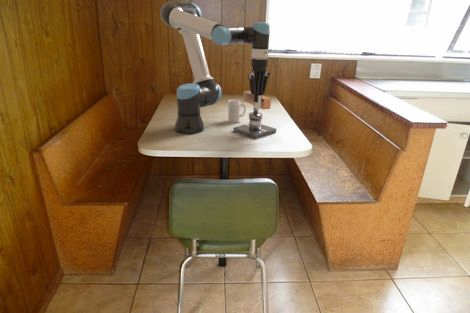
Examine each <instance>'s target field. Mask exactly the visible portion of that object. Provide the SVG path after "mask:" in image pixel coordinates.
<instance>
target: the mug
mask: <svg viewBox="0 0 470 313" xmlns="http://www.w3.org/2000/svg"><path fill="white" fill-rule="evenodd" d="M227 101H228V102H227V103H228V104H227V105H228V106H227V107H228V122H229V123H232V124H233V123H239V122H240V118H241V117H242V118H243V117H244V116H245V113H246V109H247V108H246V105H245V102H242V103H241V100H240V99H235V98H234V99H233V98H232V99H229V100H227ZM241 106H242V107H243V112H242V113H240V110H241Z"/></svg>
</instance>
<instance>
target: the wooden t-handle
mask: <svg viewBox="0 0 470 313" xmlns="http://www.w3.org/2000/svg"><path fill="white" fill-rule="evenodd" d="M242 102H244V103H248V104H250V105H253V106H254V105H255V102H254V95H253V94H251V90H243V94H242ZM271 103H272V99H271V97H268V96H265V95H262V100H261V108H260V110H270V109H271ZM248 119H249V121H250V120H261V121H262V120H263V113H261V112H259V109H255V108H254V107H253V112H249V113H248Z"/></svg>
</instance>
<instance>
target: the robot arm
mask: <svg viewBox="0 0 470 313" xmlns="http://www.w3.org/2000/svg"><path fill="white" fill-rule="evenodd" d="M159 15H160V19H161V21H162V22H163V23H164V24H165V25H166V26H168V27H171V28H173V29H177V30H178V33H179V34H181V35H182V38H183V40H184V41H183V42H184V46H185V49H186V53H187V55H188V61H189V65H190V67H191V71H192V75H193V79H194V81H193V82H192V83H191V82H190V83H183V84H181V85H179V86H178V87H177V88H176V104H177V117H176V121H175V124H174V130H175V132H177V133H180V134H184V135H185V134H186V135H192V134H199V133H201V132H203V131H204V130H205V126H204V122H203V119H202V116H201V109H202V108H204V107H208V106H212V105H213V106H214V105H215V104H218V103H219V102H220V100H221V98H222V87H221V86H220V84H218V83H217V82H215V78H214V77H212V76H211V74H210V70H209V66H208V63H207V59H206V56H205V55H206V54H205V51H204V47H203V43H202V41H201V37H204V38H206V39H209V40H211V41H212V42H213V43H214V44H215V45H217V46H227V45H228V46H229V45H239V44H243V45H244V44H247V45H251V68H252V70H251V73H250V74H248V75H247V78H248V81H249V87H250V91H251V94H253V95H254V102H255V105H253V109H254V108H255V109H258V110H261V100H262V95H263V96H265V95H264V94H266V91H267V85H268V81H269V77H270V76H271V74H270V72H268V71H267V68H268V66H269V64H268V63H269V60H268V58H269V47H270V46H269V44H270V43H269V42H270V34H271V32H270V26H271V25H270V23H269V22H260V21H259V22H258V21H257V22H256V21H254V22H253V23H252V26H245V25H233V26H232V25H231V26H227V25H224V24H221V23H219V22H215V21H212V20H209V19H206V18H204V17H203V14H202V11H201V8H200V7H199V6H198V5H197V4H195V3H193V2H189V1H173V0H172V1H168V2H166V3H164V4H163V5H162V7H161V9H160V14H159ZM200 36H201V37H200Z"/></svg>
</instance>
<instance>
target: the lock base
mask: <svg viewBox="0 0 470 313" xmlns="http://www.w3.org/2000/svg"><path fill="white" fill-rule="evenodd" d="M232 128H233V132H235V133H236V134H237V133H238V134H240V135H243V136H246V137H248V138H250V139H254V140H256V139H257V140H258V139H261V138H262V137H266V136H269V135H273V134H276V133H277V128H276V127H275V128H274V127H272V126H269V125H265V124H263V123H262V119H261V120H250V119H249V123H244V124H243V125H238V126H234V127H232Z"/></svg>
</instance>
